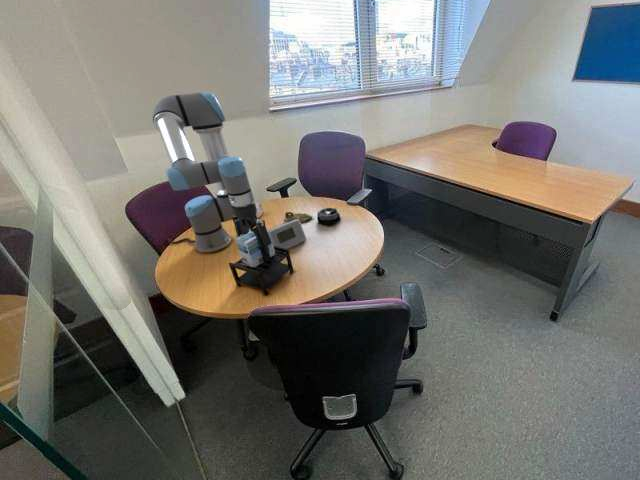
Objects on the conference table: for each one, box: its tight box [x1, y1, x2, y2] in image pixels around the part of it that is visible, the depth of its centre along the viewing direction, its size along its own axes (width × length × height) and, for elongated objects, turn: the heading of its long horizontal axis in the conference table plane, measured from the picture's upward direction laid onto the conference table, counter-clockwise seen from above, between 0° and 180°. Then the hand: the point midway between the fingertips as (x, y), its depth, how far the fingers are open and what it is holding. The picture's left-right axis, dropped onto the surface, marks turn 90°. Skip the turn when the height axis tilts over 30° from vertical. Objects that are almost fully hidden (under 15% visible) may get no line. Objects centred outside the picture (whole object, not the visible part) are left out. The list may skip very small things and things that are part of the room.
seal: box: [284, 211, 313, 224], centre depth 166 cm, size 9×5×15 cm
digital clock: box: [268, 219, 307, 252], centre depth 142 cm, size 16×9×11 cm, turn 123°
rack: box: [228, 246, 295, 297], centre depth 121 cm, size 15×16×11 cm
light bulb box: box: [234, 229, 275, 267], centre depth 116 cm, size 11×7×11 cm, turn 148°
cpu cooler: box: [316, 207, 341, 227], centre depth 162 cm, size 10×6×10 cm
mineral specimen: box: [255, 202, 264, 219], centre depth 170 cm, size 13×7×6 cm, turn 175°
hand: (259, 257), depth 119 cm, fingers closed on light bulb box, 7 cm apart
